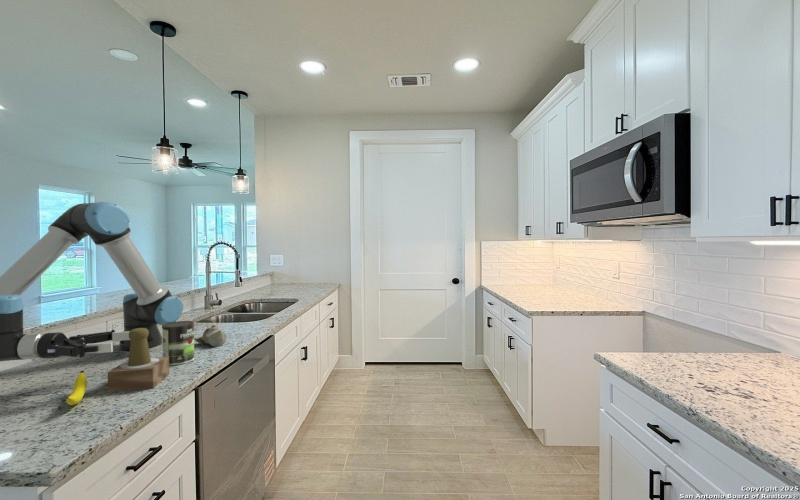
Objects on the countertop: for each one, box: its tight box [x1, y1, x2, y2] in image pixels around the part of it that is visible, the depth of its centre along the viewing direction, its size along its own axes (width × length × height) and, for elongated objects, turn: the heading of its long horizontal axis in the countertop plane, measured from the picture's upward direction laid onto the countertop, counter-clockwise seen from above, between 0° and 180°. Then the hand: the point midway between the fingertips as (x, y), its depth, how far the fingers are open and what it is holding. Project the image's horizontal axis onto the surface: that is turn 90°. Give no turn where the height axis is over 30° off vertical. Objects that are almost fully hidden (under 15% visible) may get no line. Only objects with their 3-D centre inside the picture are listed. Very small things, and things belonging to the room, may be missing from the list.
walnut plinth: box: [107, 356, 171, 393], centre depth 115 cm, size 12×12×6 cm
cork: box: [127, 328, 152, 366], centre depth 114 cm, size 6×6×11 cm
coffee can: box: [161, 320, 196, 366], centre depth 135 cm, size 10×10×14 cm
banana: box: [65, 370, 88, 406], centre depth 100 cm, size 3×19×6 cm, turn 34°
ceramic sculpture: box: [194, 324, 228, 348], centre depth 157 cm, size 11×9×15 cm
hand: (124, 340), depth 113 cm, fingers open, 13 cm apart
